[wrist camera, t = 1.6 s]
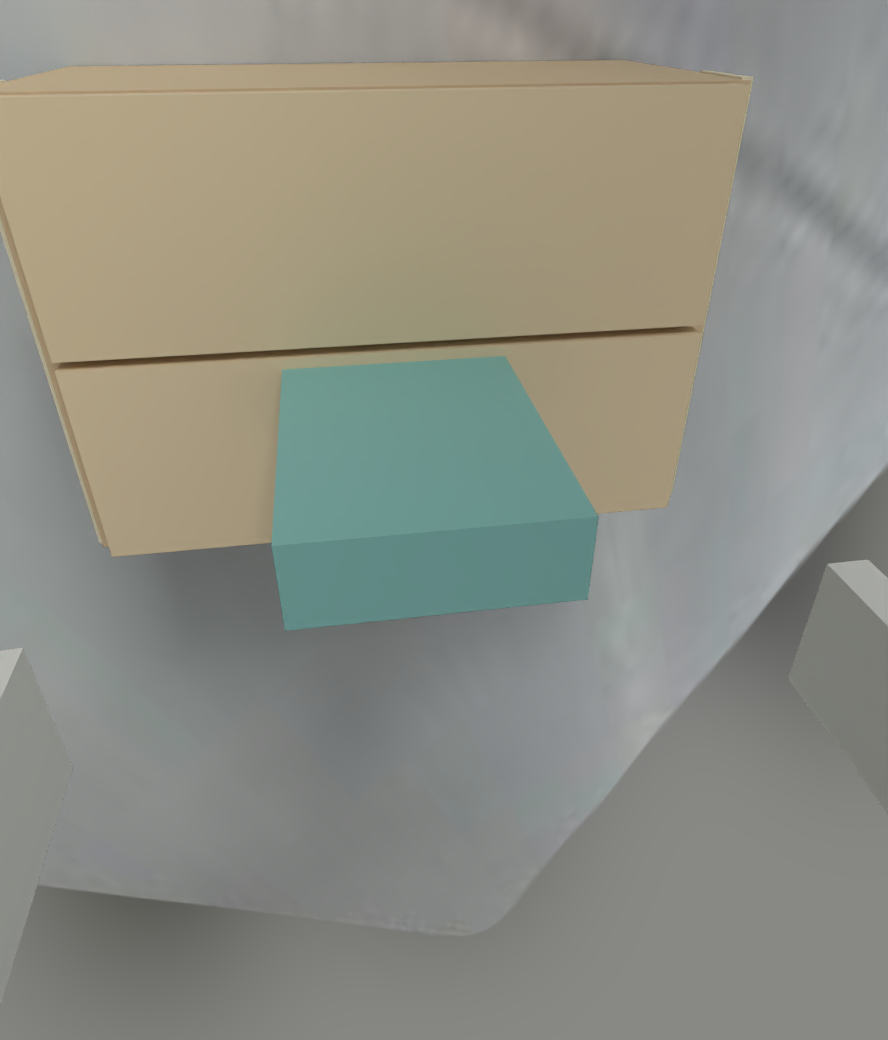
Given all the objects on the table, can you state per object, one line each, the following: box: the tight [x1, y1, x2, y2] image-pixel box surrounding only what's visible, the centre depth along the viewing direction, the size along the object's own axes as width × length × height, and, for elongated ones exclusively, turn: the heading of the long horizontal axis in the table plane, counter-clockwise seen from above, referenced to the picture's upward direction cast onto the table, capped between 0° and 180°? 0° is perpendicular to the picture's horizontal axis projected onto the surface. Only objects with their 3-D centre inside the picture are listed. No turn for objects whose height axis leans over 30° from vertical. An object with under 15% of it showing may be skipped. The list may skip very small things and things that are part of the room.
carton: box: [0, 60, 754, 547], centre depth 24 cm, size 12×18×10 cm, turn 90°
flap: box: [55, 326, 701, 631], centre depth 19 cm, size 6×17×9 cm, turn 90°
